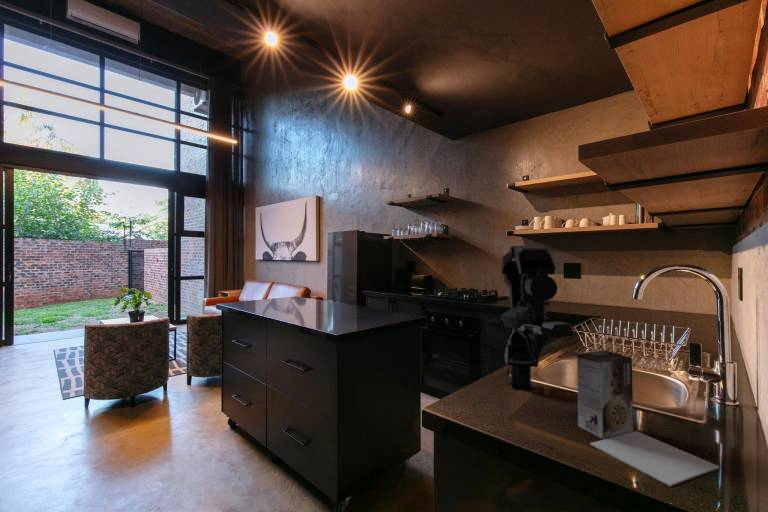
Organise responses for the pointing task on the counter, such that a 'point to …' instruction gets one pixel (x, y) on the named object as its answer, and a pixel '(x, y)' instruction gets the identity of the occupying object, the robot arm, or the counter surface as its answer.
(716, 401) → the counter surface
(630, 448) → the grey mat
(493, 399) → the counter surface
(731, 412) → the counter surface
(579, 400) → the coffee box
